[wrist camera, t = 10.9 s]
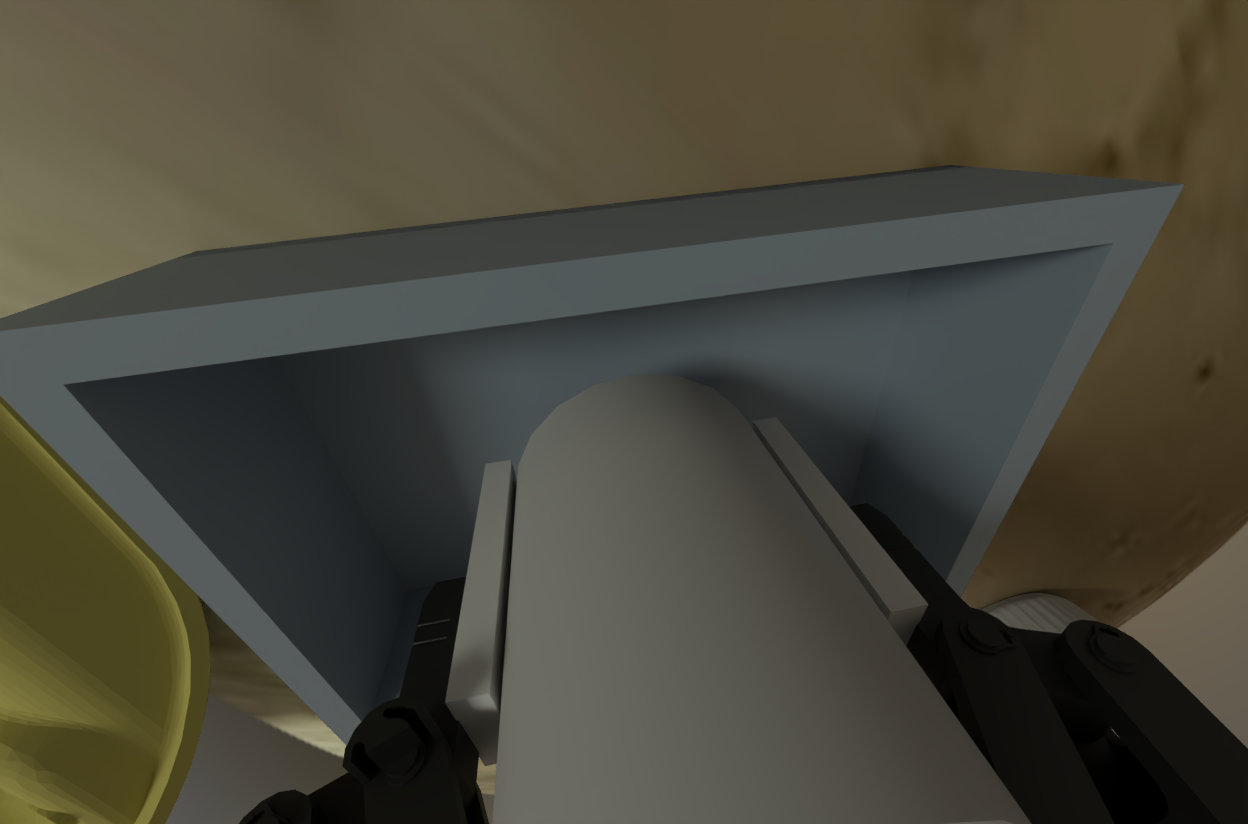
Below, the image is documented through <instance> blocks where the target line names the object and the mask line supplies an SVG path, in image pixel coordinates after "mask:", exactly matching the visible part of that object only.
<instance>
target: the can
mask: <svg viewBox="0 0 1248 824" xmlns="http://www.w3.org/2000/svg"><path fill="white" fill-rule="evenodd" d="M492 824H1031V822H1030V821H1029V819H1028V818H1027V817H1026V815H1025V814H1024V812H1023V811H1022V810H1021V808H1020V807H1019V805H1018V804H1017V802H1016V801H1015V800H1014V798H1013V797H1012V795H1011V794H1010V793H1009V791H1008V790H1007V788H1006V787H1005V786H1004V784H1003V783H1002V781H1001V780H1000V778H999V777H998V776H997V774H996V773H995V771H994V770H993V769H992V767H991V766H990V764H989V763H988V761H987V760H986V759H985V757H984V756H983V754H982V753H981V752H980V750H979V749H978V747H977V746H976V744H975V743H974V742H973V740H972V739H971V737H970V736H969V735H968V733H967V732H966V730H965V729H964V727H963V726H962V725H961V723H960V722H959V720H958V719H957V718H956V716H955V715H954V713H953V712H952V711H951V709H950V708H949V706H948V705H947V703H946V702H945V701H944V699H943V698H942V696H941V695H940V694H939V692H938V691H937V689H936V688H935V686H934V685H933V684H932V682H931V681H930V679H929V678H928V677H927V675H926V674H925V672H924V671H923V669H922V668H921V667H920V665H919V664H918V662H917V661H916V660H915V658H914V657H913V655H912V654H911V653H910V651H909V650H908V648H907V647H906V645H905V644H904V643H903V641H902V640H901V638H900V637H899V636H898V634H897V633H896V631H895V630H894V628H893V627H892V626H891V624H890V623H889V621H888V620H887V619H886V617H885V616H884V614H883V613H882V611H881V610H880V609H879V607H878V606H877V604H876V603H875V602H874V600H873V599H872V597H871V596H870V595H869V593H868V592H867V590H866V589H865V587H864V586H863V585H862V583H861V582H860V580H859V579H858V578H857V576H856V575H855V573H854V572H853V570H852V569H851V568H850V566H849V565H848V563H847V562H846V561H845V559H844V558H843V556H842V555H841V553H840V552H839V551H838V549H837V548H836V546H835V545H834V544H833V542H832V541H831V539H830V538H829V536H828V535H827V534H826V532H825V531H824V529H823V528H822V527H821V525H820V524H819V522H818V521H817V520H816V518H815V517H814V515H813V514H812V512H811V511H810V510H809V508H808V507H807V505H806V504H805V503H804V501H803V500H802V498H801V497H800V495H799V494H798V493H797V491H796V490H795V488H794V487H793V486H792V484H791V483H790V481H789V480H788V478H787V477H786V476H785V474H784V473H783V471H782V470H781V469H780V467H779V466H778V464H777V463H776V462H775V460H774V459H773V457H772V456H771V454H770V453H769V452H768V450H767V449H766V447H765V446H764V445H763V443H762V442H761V440H760V439H759V437H758V436H757V435H756V433H755V432H754V430H753V429H752V428H751V426H750V425H749V423H748V422H747V420H746V419H745V418H744V416H743V415H742V413H741V412H740V411H739V409H737V408H736V407H735V406H734V405H733V404H731V403H730V402H729V401H728V400H727V399H726V398H724V397H723V396H722V395H721V394H720V393H719V392H717V391H716V390H715V389H714V388H711V387H708V386H705V385H703V384H700V383H697V382H694V381H691V380H689V379H686V378H683V377H680V376H669V375H641V374H636V375H632V376H628V377H624V378H620V379H616V380H612V381H608V382H604V383H600V384H596V385H593V386H592V387H590V388H588V389H586V390H585V391H583V392H581V393H579V394H578V395H576V396H574V397H573V398H571V399H569V400H567V401H566V402H564V403H562V404H560V405H559V406H557V407H556V408H555V409H554V411H553V412H552V413H551V414H550V415H549V416H548V417H547V418H546V419H545V420H544V421H543V422H542V424H541V425H540V426H539V427H538V428H537V429H536V430H535V431H534V432H533V433H532V434H531V436H530V439H529V441H528V444H527V446H526V448H525V451H524V453H523V456H522V458H521V460H520V463H519V465H518V475H517V489H516V503H515V516H514V530H513V544H512V558H511V572H510V586H509V600H508V614H507V628H506V642H505V656H504V670H503V684H502V698H501V712H500V726H499V739H498V753H497V767H496V781H495V795H494V809H493V823H492Z"/></svg>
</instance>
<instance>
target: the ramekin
mask: <svg viewBox="0 0 1248 824" xmlns="http://www.w3.org/2000/svg"><path fill="white" fill-rule="evenodd" d="M980 610H982V611H985V612H987V613H989V614H991V615H992V616H994V617H996V618H998V619H1000V620H1001V621H1002V622H1003V623H1004V624H1006V625H1007V626H1009V627H1014V628H1019V629H1027V630H1035V631H1044V632H1052V633H1060V634H1061V633H1062V632H1063V631H1064V630H1065V628H1066V627H1067V626H1068V625H1069V623H1071V622H1074V621H1078V620H1091V621H1098V620H1097V619H1095V618H1094V617H1092V616H1091V615H1089V614H1088V613H1087V612H1085V611H1084V610H1082V609H1081V608H1080V607H1078V606H1077V605H1075V604H1074V603H1072V602H1070V601H1068V600H1067V599H1064V598H1062V597H1058V596H1054V595H1050V594H1046V593H1028V594H1022V595H1017V596H1013V597H1010V598H1006V599H1004V600H1001V601H998V602H995V603H993V604H991V605H989V606H986V607H984V608H982V609H980ZM1098 622H1099V621H1098Z"/></svg>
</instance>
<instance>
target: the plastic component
mask: <svg viewBox="0 0 1248 824" xmlns="http://www.w3.org/2000/svg"><path fill="white" fill-rule="evenodd" d="M210 672H211V669H210V645H209V633H208V629H207V625H206V621H205V617H204V613H203V609H202V606H201V602H200V600H199V598H198V595H197V594H196V593H195V592H194V591H193V590H192V589H191V588H190V587H189V586H188V585H187V584H186V583H185V582H184V581H183V580H182V579H181V578H180V577H179V576H178V575H177V574H176V573H175V572H174V571H173V569H172V568H171V567H170V566H169V565H168V564H167V563H166V562H165V561H164V560H163V559H162V558H161V557H160V556H159V555H158V554H157V553H156V552H155V551H154V550H153V549H152V548H151V547H150V546H149V545H148V544H147V543H146V542H145V541H144V540H143V539H142V538H141V537H140V536H139V535H138V534H137V533H136V532H135V531H134V530H133V529H132V528H131V527H130V526H129V525H128V524H127V523H126V522H125V521H124V520H123V519H122V518H121V517H120V516H119V515H118V514H117V513H116V512H115V511H114V510H113V509H112V508H111V507H110V506H109V505H108V504H107V503H106V502H105V501H104V500H103V499H102V498H101V497H100V496H99V495H98V494H97V493H96V492H95V491H94V490H93V489H92V488H91V487H90V486H89V485H88V484H87V483H86V482H85V481H84V480H83V479H82V478H81V477H80V476H79V475H78V474H77V473H76V472H75V471H74V470H73V469H72V467H71V466H70V465H69V464H68V463H67V462H66V461H65V460H64V459H63V458H62V457H61V456H60V455H59V454H58V453H57V452H56V451H55V450H54V449H53V448H52V447H51V446H50V445H49V444H48V443H47V442H46V441H45V440H44V439H43V438H42V437H41V436H40V435H39V434H38V433H37V432H36V431H35V430H34V429H33V428H32V427H31V426H30V425H29V424H28V423H27V422H26V421H25V420H24V419H23V418H22V417H21V416H20V415H19V414H18V413H17V412H16V411H15V410H14V409H13V408H12V407H11V406H10V405H9V404H8V403H7V402H6V401H5V400H4V399H3V398H2V397H1V396H0V824H165V823H166V821H167V819H168V817H169V815H170V812H171V811H172V809H173V807H174V804H175V803H176V800H177V798H178V796H179V794H180V791H181V789H182V786H183V784H184V781H185V779H186V776H187V774H188V771H189V769H190V766H191V764H192V760H193V757H194V754H195V751H196V747H197V744H198V741H199V737H200V734H201V730H202V725H203V720H204V716H205V711H206V706H207V700H208V691H209V682H210Z"/></svg>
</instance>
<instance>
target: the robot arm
mask: <svg viewBox="0 0 1248 824" xmlns="http://www.w3.org/2000/svg"><path fill="white" fill-rule="evenodd" d="M752 429H753V430H754V432H755V433H756V435H757V436H758V437H759V439H760V440H761V442H762V443H763V445H764V446H765V447H766V449H767V450H768V452H769V453H770V454H771V456H772V457H773V459H774V460H775V462H776V463H777V464H778V466H779V467H780V469H781V470H782V471H783V473H784V474H785V476H786V477H787V478H788V480H789V481H790V483H791V484H792V486H793V487H794V488H795V490H796V491H797V493H798V494H799V495H800V497H801V498H802V500H803V501H804V503H805V504H806V505H807V507H808V508H809V510H810V511H811V512H812V514H813V515H814V517H815V518H816V520H817V521H818V522H819V524H820V525H821V527H822V528H823V529H824V531H825V532H826V534H827V535H828V536H829V538H830V539H831V541H832V542H833V544H834V545H835V546H836V548H837V549H838V551H839V552H840V553H841V555H842V556H843V558H844V559H845V561H846V562H847V563H848V565H849V566H850V568H851V569H852V570H853V572H854V573H855V575H856V576H857V578H858V579H859V580H860V582H861V583H862V585H863V586H864V587H865V589H866V590H867V592H868V593H869V595H870V596H871V597H872V599H873V600H874V602H875V603H876V604H877V606H878V607H879V609H880V610H881V611H882V613H883V614H884V616H885V617H886V619H887V620H888V621H889V623H890V624H891V626H892V627H893V628H894V630H895V631H896V633H897V634H898V636H899V637H900V638H901V640H902V641H903V643H904V644H905V645H906V647H907V648H908V650H909V651H910V653H911V654H912V655H913V657H914V658H915V660H916V661H917V662H918V664H919V665H920V667H921V668H922V669H923V671H924V672H925V674H926V675H927V677H928V678H929V679H930V681H931V682H932V684H933V685H934V686H935V688H936V689H937V691H938V692H939V694H940V695H941V696H942V698H943V699H944V701H945V702H946V703H947V705H948V706H949V708H950V709H951V711H952V712H953V713H954V715H955V716H956V718H957V719H958V720H959V722H960V723H961V725H962V726H963V727H964V729H965V730H966V732H967V733H968V735H969V736H970V737H971V739H972V740H973V742H974V743H975V744H976V746H977V747H978V749H979V750H980V752H981V753H982V754H983V756H984V757H985V759H986V760H987V761H988V763H989V764H990V766H991V767H992V769H993V770H994V771H995V773H996V774H997V776H998V777H999V778H1000V780H1001V781H1002V783H1003V784H1004V786H1005V787H1006V788H1007V790H1008V791H1009V793H1010V794H1011V795H1012V797H1013V798H1014V800H1015V801H1016V802H1017V804H1018V805H1019V807H1020V808H1021V810H1022V811H1023V812H1024V814H1025V815H1026V817H1027V818H1028V819H1029V821H1030V822H1031V824H1248V749H1247V748H1246V746H1245V745H1243V744H1242V743H1241V742H1240V741H1239V740H1238V739H1237V738H1236V737H1235V736H1234V735H1233V734H1232V733H1231V732H1230V731H1229V730H1228V729H1227V728H1226V727H1225V726H1224V725H1223V724H1222V723H1221V722H1220V721H1219V720H1218V719H1217V718H1216V717H1215V716H1214V715H1213V714H1212V713H1211V712H1210V711H1209V710H1208V709H1207V708H1206V707H1205V706H1204V705H1203V704H1202V703H1201V702H1200V701H1199V700H1198V699H1197V698H1196V697H1195V696H1194V695H1193V694H1192V693H1191V692H1190V691H1189V690H1188V689H1187V688H1186V687H1185V686H1184V685H1183V684H1182V683H1181V682H1180V681H1179V680H1178V679H1177V678H1176V677H1175V676H1174V675H1173V674H1172V673H1171V672H1170V671H1169V670H1168V669H1167V668H1166V667H1165V666H1164V665H1163V664H1162V663H1161V662H1160V661H1159V660H1158V659H1157V658H1156V657H1155V656H1154V655H1153V654H1152V653H1151V652H1150V651H1149V650H1148V649H1146V648H1145V647H1144V646H1143V645H1141V644H1140V643H1139V642H1138V641H1137V640H1135V639H1134V638H1133V637H1131V636H1129V635H1127V634H1126V633H1124V632H1122V631H1120V630H1118V629H1117V628H1115V627H1112V626H1109V625H1106V624H1103V623H1101V622H1098V621H1091V620H1078V621H1074V622H1071V623H1069V625H1068V626H1067V627H1066V628H1065V630H1064V631H1063V632H1062V633H1061V634H1060V633H1052V632H1044V631H1035V630H1027V629H1019V628H1014V627H1009V626H1007V625H1006V624H1004V623H1003V622H1002V621H1001V620H1000V619H998V618H996V617H994V616H992V615H991V614H989V613H987V612H985V611H982V610H979V609H975V608H971V607H969V606H968V605H967V604H966V603H965V602H964V601H963V600H962V599H961V598H960V597H959V596H958V595H957V593H956V592H955V591H954V590H953V589H952V588H951V587H950V586H949V584H948V583H947V582H946V581H945V580H944V579H943V578H942V577H941V575H940V574H939V573H938V572H937V571H936V570H935V569H934V568H933V567H932V565H931V564H930V563H929V562H928V561H927V560H926V559H925V558H924V556H923V555H922V554H921V553H920V552H919V551H918V550H917V549H915V548H914V545H913V544H912V543H911V542H910V541H909V540H908V539H907V537H906V536H905V535H904V536H903V535H902V532H901V531H900V530H899V528H898V527H897V526H896V525H895V524H894V523H893V522H892V521H891V519H890V518H889V517H888V516H887V515H885V514H884V513H882V512H880V511H879V510H877V509H876V508H874V507H873V506H871V505H870V504H868V503H865V504H859V505H854V506H848V505H847V504H846V502H845V501H844V500H843V499H842V497H841V496H840V495H839V494H838V493H837V491H836V490H835V489H834V488H833V486H832V485H831V484H830V483H829V481H828V480H827V479H826V478H825V477H824V475H823V474H822V473H821V472H820V470H819V469H818V468H817V467H816V465H815V464H814V463H813V462H812V461H811V459H810V458H809V457H808V456H807V454H806V453H805V452H804V451H803V449H802V448H801V447H800V446H799V445H798V443H797V442H796V441H795V440H794V438H793V437H792V436H791V435H790V433H789V432H788V431H787V430H786V429H785V427H784V426H783V425H782V424H781V422H780V421H779V420H778V419H777V418H776V417H774V418H768V419H762V420H756V421H753V427H752ZM516 489H517V478H516V475H515V471H514V468H513V464H512V460H506V461H500V462H494V463H488V464H485V470H484V476H483V482H482V488H481V493H480V499H479V505H478V511H477V517H476V523H475V529H474V535H473V541H472V547H471V552H470V558H469V564H468V570H467V576H466V577H462V578H456V579H451V580H445V581H440V582H436V584H435V585H434V587H433V588H432V590H431V591H430V593H429V594H428V596H427V597H426V599H425V600H424V602H423V605H422V609H421V613H420V617H419V620H418V628H417V629H416V632H415V636H414V640H413V647H412V648H411V652H410V656H409V660H408V664H407V668H406V672H405V676H404V680H403V684H402V688H401V692H400V696H399V697H398V698H395V699H393V700H390V701H387V702H385V703H382V704H381V705H380V706H378V707H377V708H376V709H374V710H373V711H371V712H370V713H369V714H367V716H366V717H365V718H364V719H363V720H362V722H361V723H360V724H359V725H358V726H357V728H356V729H355V730H354V732H353V734H352V736H351V738H350V740H349V742H348V744H347V746H346V748H345V754H344V760H343V767H344V768H345V769H346V770H347V771H348V773H346V774H345V775H343V776H341V777H339V778H338V779H336V780H334V781H333V782H330V783H329V784H327V785H325V786H323V787H322V788H320V789H318V790H317V791H315V792H313V793H311V794H309V795H305V794H303V793H301V792H299V791H296V790H289V791H283V792H278V793H276V794H275V795H273V796H271V797H269V798H267V799H265V800H263V801H262V802H260V803H259V804H258V805H257V806H256V807H255V808H254V809H253V810H251V811H250V812H249V813H248V814H247V815H246V816H245V817H244V818H243V819H242V820H241V822H240V823H239V824H489V822H488V818H487V814H486V810H485V806H484V802H483V798H482V794H481V790H480V788H479V786H478V784H477V782H476V779H477V769H478V759H479V757H480V759H481V760H482V762H483V763H484V765H485V766H487V765H492V764H496V763H497V753H498V739H499V726H500V712H501V698H502V684H503V670H504V656H505V642H506V628H507V614H508V600H509V586H510V572H511V558H512V544H513V530H514V516H515V503H516ZM1111 729H1113V730H1114V731H1115V733H1116V734H1117V735H1118V736H1119V737H1120V738H1119V737H1118V736H1117V735H1116V734H1115V733H1114V732H1113V731H1112V730H1111Z"/></svg>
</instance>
